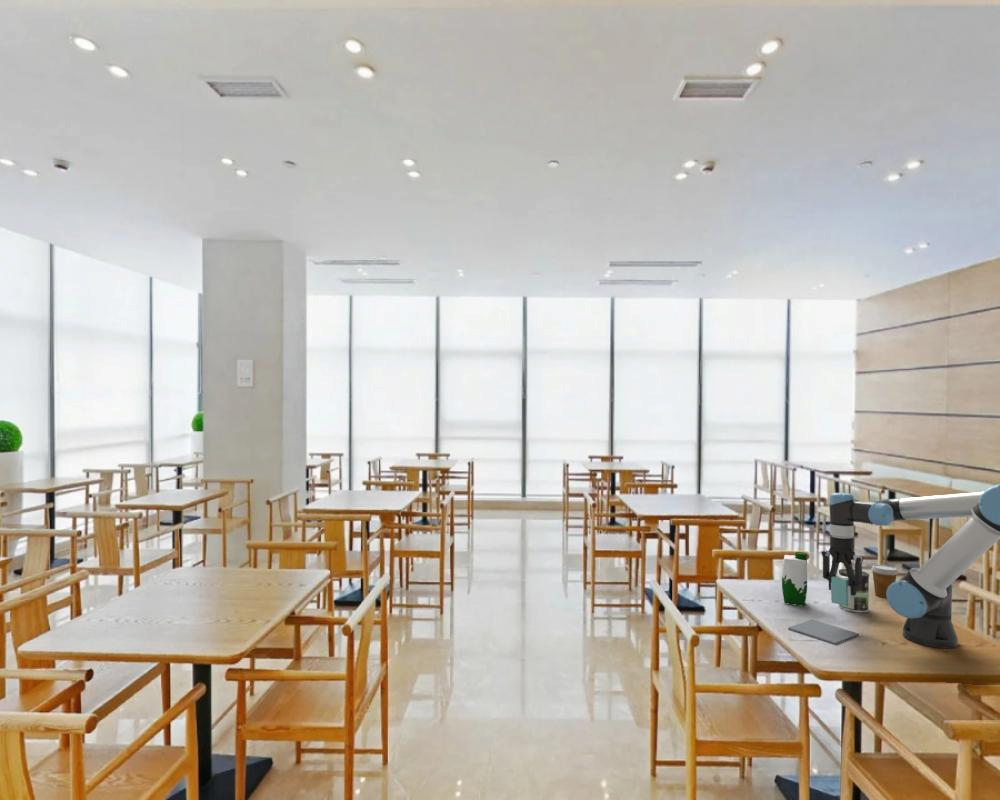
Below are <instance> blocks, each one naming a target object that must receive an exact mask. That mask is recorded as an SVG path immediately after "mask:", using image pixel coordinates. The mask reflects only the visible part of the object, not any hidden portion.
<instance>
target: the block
mask: <svg viewBox="0 0 1000 800" xmlns="http://www.w3.org/2000/svg"><path fill="white" fill-rule="evenodd" d="M831 579H832V600H831V603H833V604H837V605H839V604H840V605H844V606H848V586H849V585H850V583H849V579H848V577H845V576H840V575H839V574H838V575H837V574H836V576H833V577H831Z"/></svg>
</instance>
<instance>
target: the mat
mask: <svg viewBox="0 0 1000 800" xmlns="http://www.w3.org/2000/svg"><path fill="white" fill-rule="evenodd" d="M789 629H790V631H792V630H793V631H792V632H796V633H799V634H801V635H805V636H806V637H807V636H808V637H811V638H813V637H814V638H813V639H816V638H817V640H819V639H821V640H820V641H823V640H824V641H823V642H825V643H830V644H832V645H835V644H836V645H838V644H841V643H842V641H843V642H845V641H844V640H846V641H848V640H850V639H853V638H855V637H857V635H858V636H859V632H857V631H856V632H855V631H852V630H849V629H847V628H846V629H845V628H842V627H838V626H836V625H832V624H829V623H825V622H822V621H819V620H816V619H812V618H811V619H809V620H806V621H803V622H800V623H796V624H795V625H792V626H791V625H790V626H788V627H787V630H789ZM852 637H853V638H852ZM849 638H850V639H849ZM847 639H848V640H847ZM840 642H841V643H840Z"/></svg>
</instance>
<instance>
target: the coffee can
mask: <svg viewBox="0 0 1000 800" xmlns="http://www.w3.org/2000/svg"><path fill="white" fill-rule="evenodd" d="M853 571H854V575H855V569H853ZM838 575H840V576H845V577H848V575H847V571H846V568H840V569H838ZM869 577H870V574H869V573H868V572H865V571H863V570H862V585H859V586H856V595H854V604H852V605H848V606H844V605H840V604H837V605H838V607H839V608H840V609H841V610H844V609H845V611H848V612H852V613H860V614H861V613H868V612H869V611H870V609H869V587H870V586H869V585H870V582H869V581H870V578H869Z"/></svg>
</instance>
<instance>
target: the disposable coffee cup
mask: <svg viewBox="0 0 1000 800" xmlns="http://www.w3.org/2000/svg"><path fill="white" fill-rule="evenodd" d="M870 569H871V571H872V578H873V579H872V580H873V586H874V587H873V588H874V595H875V596H877V597H879V598H884V599H887V596H886V592H887V589H888V587H889V586H890V585H891V584H892V583H893V582H895V581H897V575H898V573H899V572H898V570H897V568H896V567H894V566H890V565H886V564H873V565H872V567H870Z"/></svg>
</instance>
